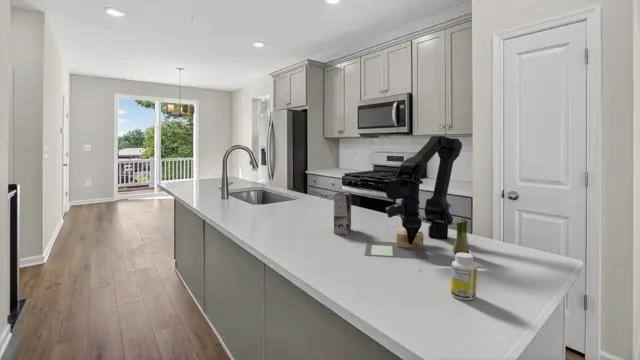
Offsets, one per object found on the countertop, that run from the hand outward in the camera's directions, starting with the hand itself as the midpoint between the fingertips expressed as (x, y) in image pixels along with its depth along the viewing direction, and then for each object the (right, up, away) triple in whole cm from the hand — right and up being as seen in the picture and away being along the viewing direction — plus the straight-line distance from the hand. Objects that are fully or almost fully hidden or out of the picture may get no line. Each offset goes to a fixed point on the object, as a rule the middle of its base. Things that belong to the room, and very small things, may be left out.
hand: (409, 240), depth 125 cm
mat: (-6, -3, -5) cm, 8 cm away
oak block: (0, -2, 0) cm, 2 cm away
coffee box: (-22, 0, +23) cm, 32 cm away
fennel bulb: (+14, -4, -9) cm, 18 cm away
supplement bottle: (+3, -7, -41) cm, 41 cm away
